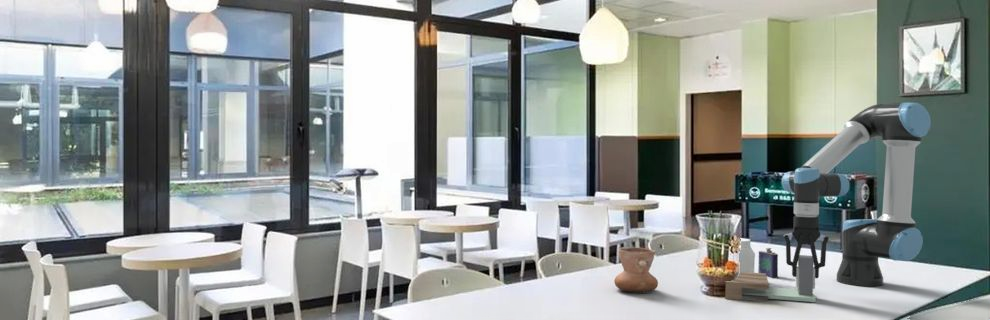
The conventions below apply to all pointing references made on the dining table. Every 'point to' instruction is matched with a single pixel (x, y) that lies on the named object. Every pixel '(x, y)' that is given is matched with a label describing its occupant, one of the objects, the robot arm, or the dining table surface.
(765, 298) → the dock
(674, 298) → the dining table surface
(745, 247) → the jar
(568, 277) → the dining table surface
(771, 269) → the flask
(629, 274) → the ceramic jug
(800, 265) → the green platform with post
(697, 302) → the dining table surface
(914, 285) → the dining table surface
